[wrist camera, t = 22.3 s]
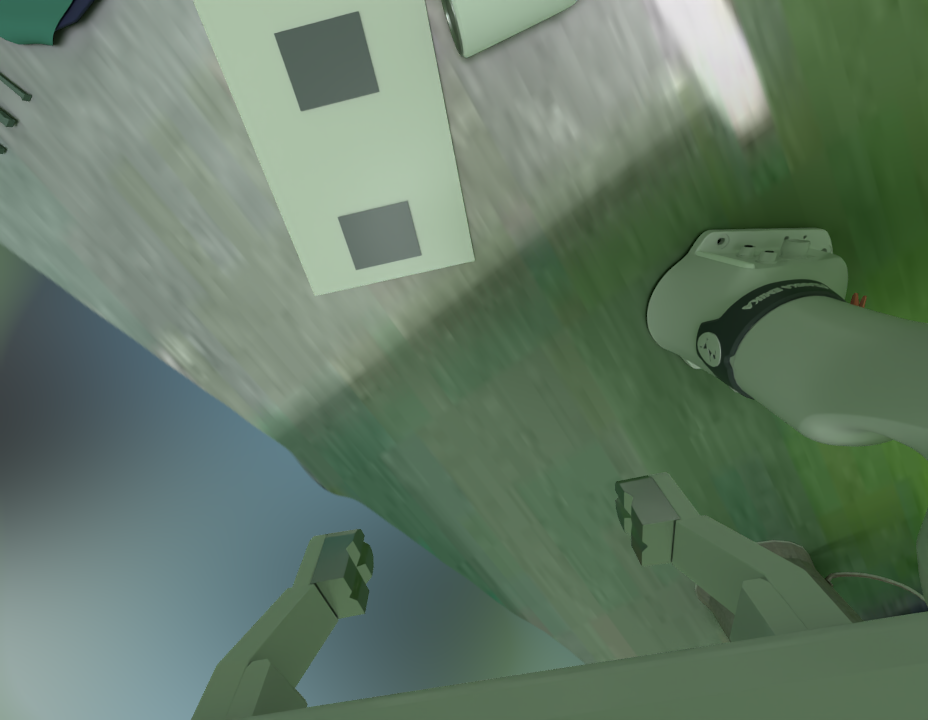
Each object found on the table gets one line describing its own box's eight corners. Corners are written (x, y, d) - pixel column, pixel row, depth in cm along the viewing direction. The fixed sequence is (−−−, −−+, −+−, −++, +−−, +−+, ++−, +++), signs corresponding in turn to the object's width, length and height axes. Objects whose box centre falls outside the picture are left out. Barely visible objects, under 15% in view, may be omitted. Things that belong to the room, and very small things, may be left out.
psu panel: (412, -61, 32) (411, -70, 31) (474, 259, 44) (475, 261, 43) (197, -2, 33) (188, -8, 32) (317, 293, 46) (314, 296, 44)
